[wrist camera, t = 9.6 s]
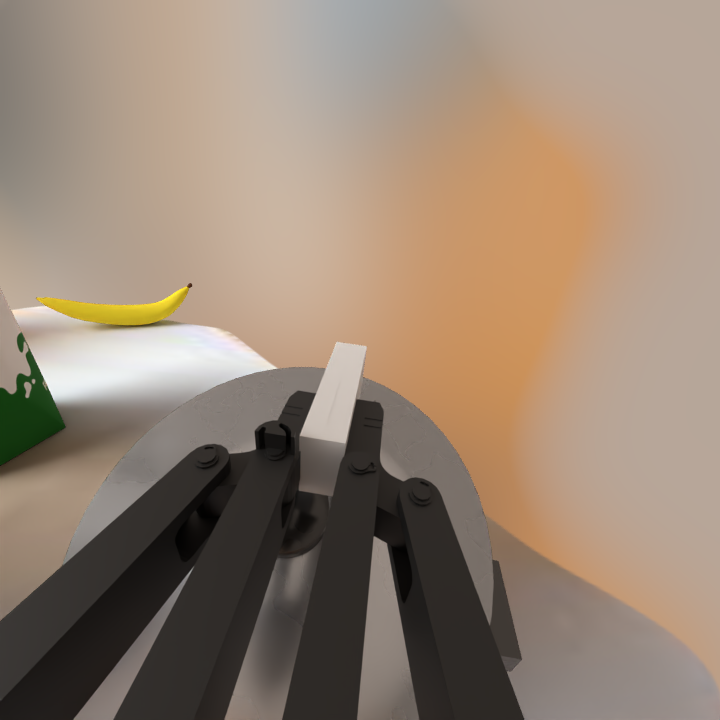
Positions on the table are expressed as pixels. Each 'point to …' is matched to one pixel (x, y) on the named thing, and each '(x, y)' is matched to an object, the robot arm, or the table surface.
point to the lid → (294, 541)
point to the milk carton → (22, 393)
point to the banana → (118, 310)
